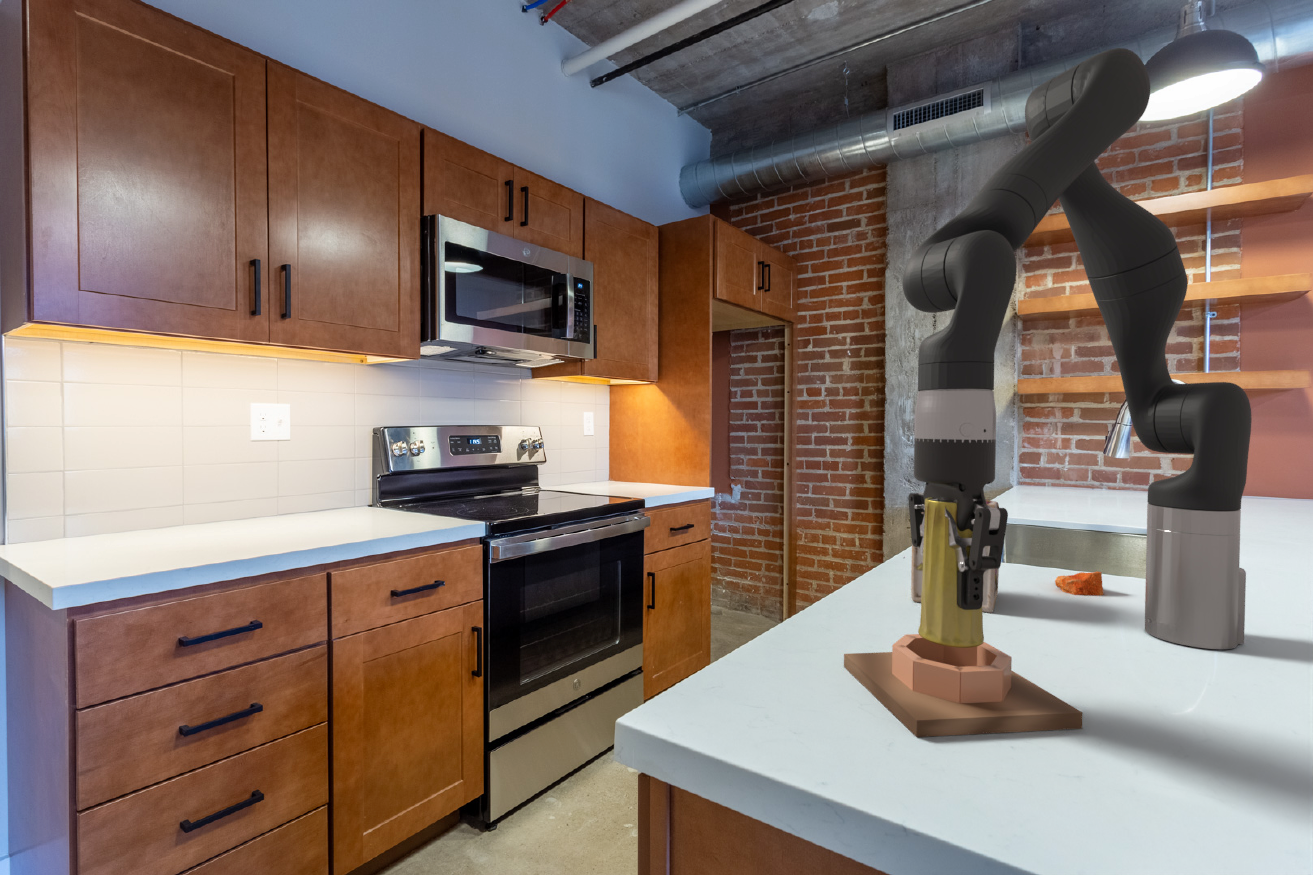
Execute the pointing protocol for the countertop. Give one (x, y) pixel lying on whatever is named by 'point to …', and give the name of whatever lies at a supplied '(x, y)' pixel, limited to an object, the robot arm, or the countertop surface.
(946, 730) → the board
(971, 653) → the holder ring
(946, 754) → the countertop surface
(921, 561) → the decorative jar
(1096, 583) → the rock
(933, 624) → the vase
